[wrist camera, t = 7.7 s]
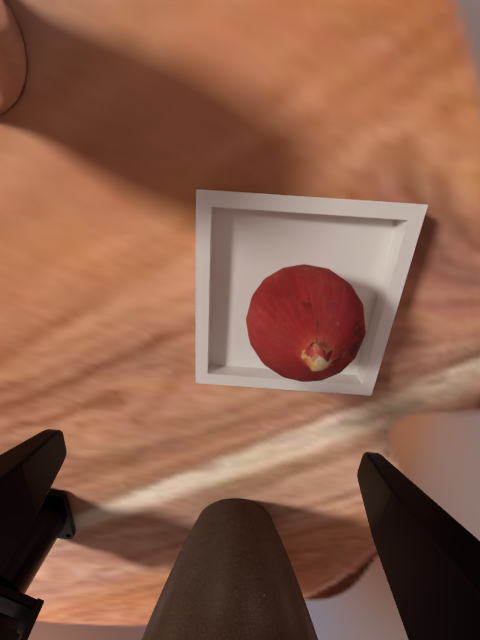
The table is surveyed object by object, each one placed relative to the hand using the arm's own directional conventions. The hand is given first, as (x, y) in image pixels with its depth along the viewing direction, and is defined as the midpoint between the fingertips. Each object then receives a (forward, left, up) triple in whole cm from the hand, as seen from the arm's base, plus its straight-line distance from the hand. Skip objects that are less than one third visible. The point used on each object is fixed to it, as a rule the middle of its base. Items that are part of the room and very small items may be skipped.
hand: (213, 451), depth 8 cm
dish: (+2, -4, -12) cm, 12 cm away
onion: (+1, -4, -11) cm, 12 cm away
